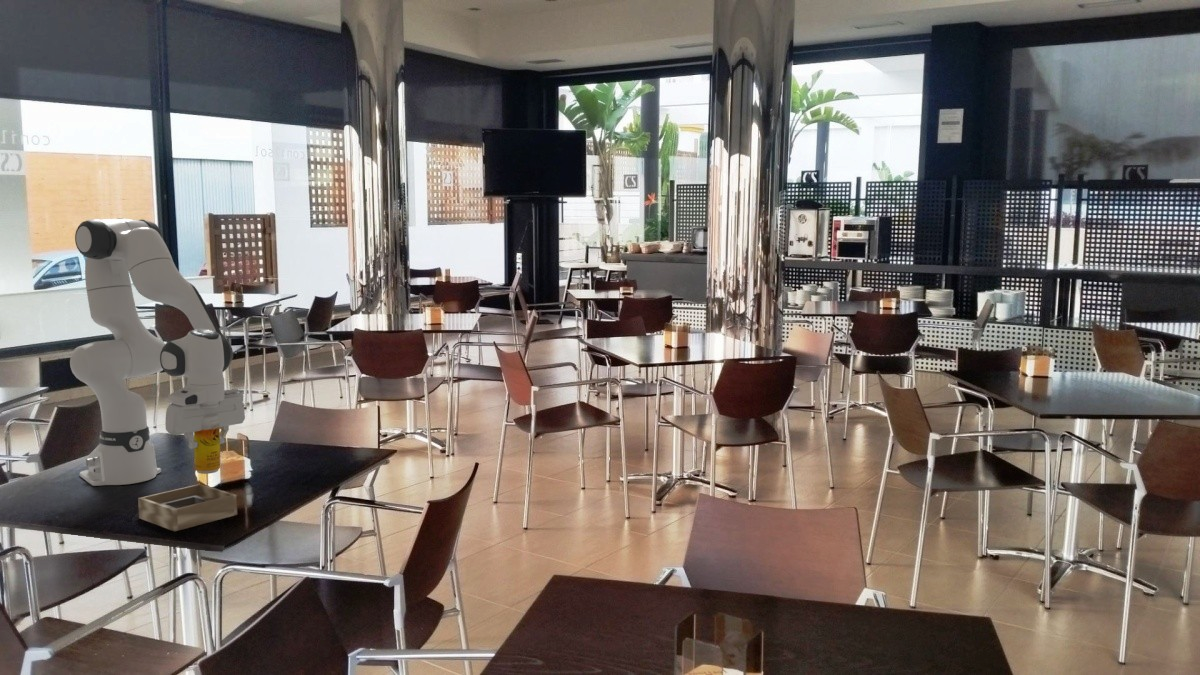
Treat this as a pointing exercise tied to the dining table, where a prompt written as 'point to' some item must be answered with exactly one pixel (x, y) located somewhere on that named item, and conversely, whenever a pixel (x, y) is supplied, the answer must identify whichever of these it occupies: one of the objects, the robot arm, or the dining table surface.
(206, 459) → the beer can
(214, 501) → the crate
